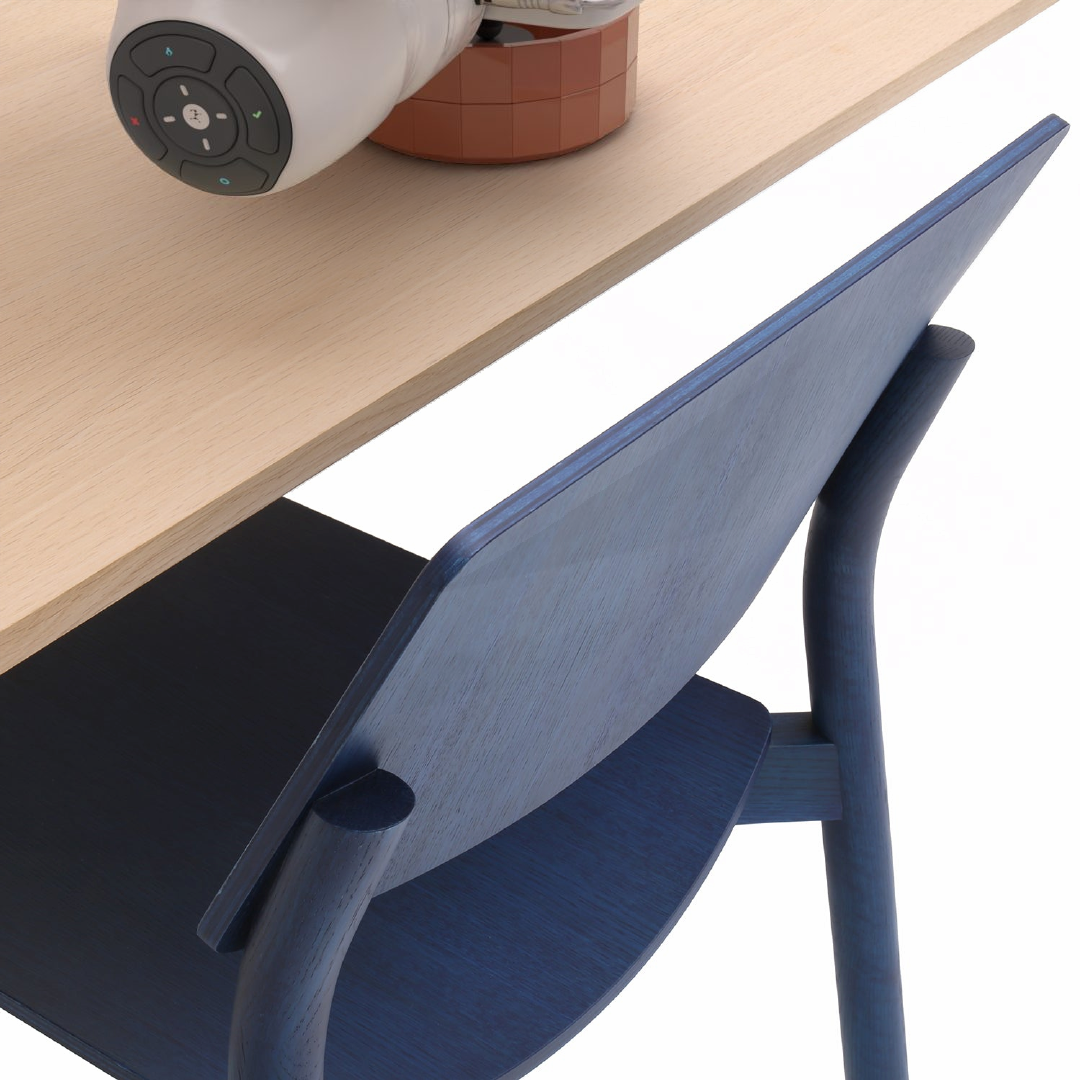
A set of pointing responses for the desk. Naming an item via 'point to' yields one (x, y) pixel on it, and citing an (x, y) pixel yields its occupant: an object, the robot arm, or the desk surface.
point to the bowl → (521, 97)
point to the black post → (500, 33)
